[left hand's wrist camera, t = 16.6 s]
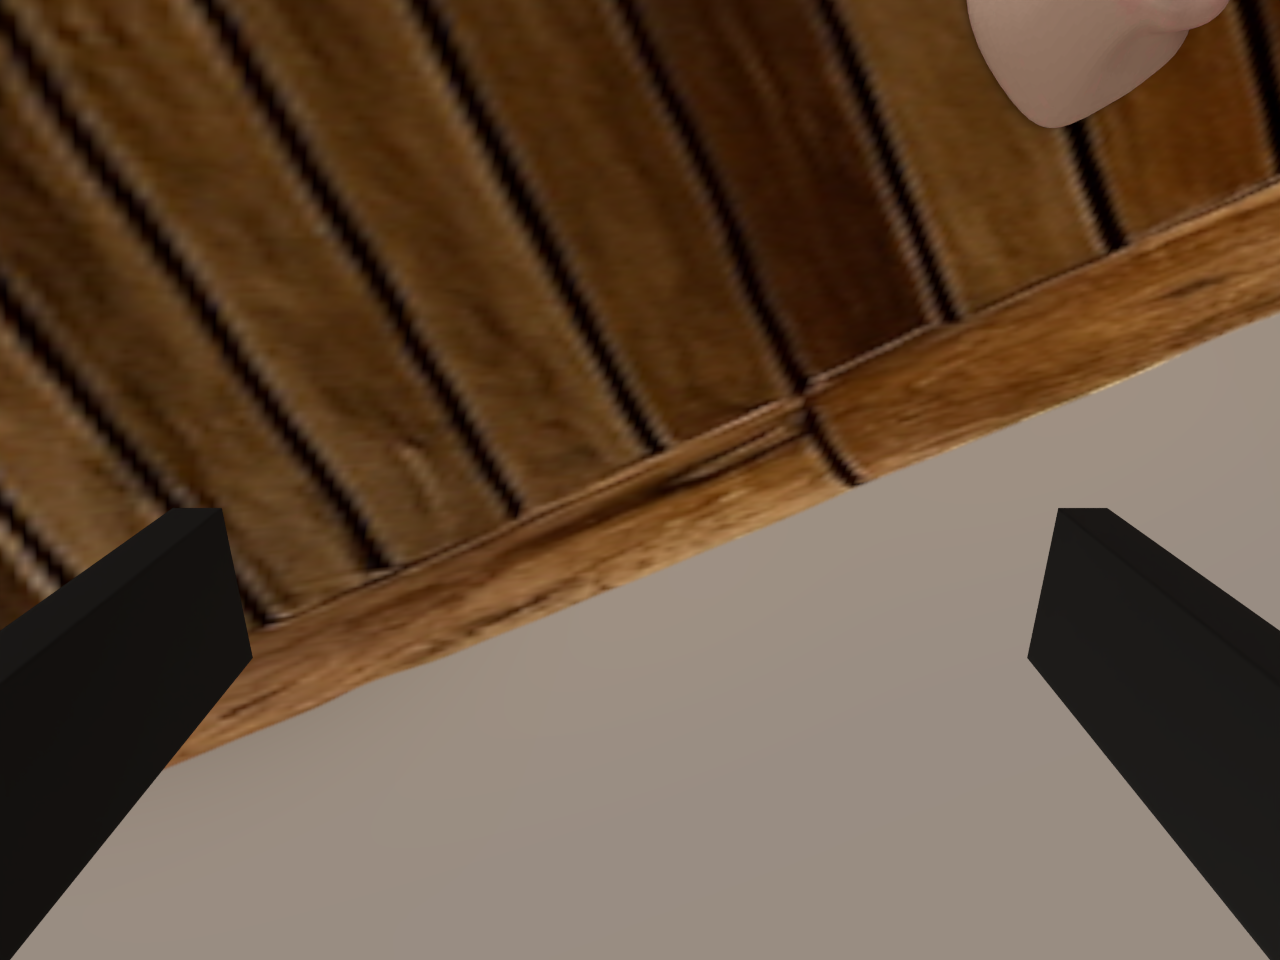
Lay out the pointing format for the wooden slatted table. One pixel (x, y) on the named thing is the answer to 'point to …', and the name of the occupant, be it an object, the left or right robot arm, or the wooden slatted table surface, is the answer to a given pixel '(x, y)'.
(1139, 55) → the anatomical model
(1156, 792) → the left robot arm
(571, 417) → the wooden slatted table surface
